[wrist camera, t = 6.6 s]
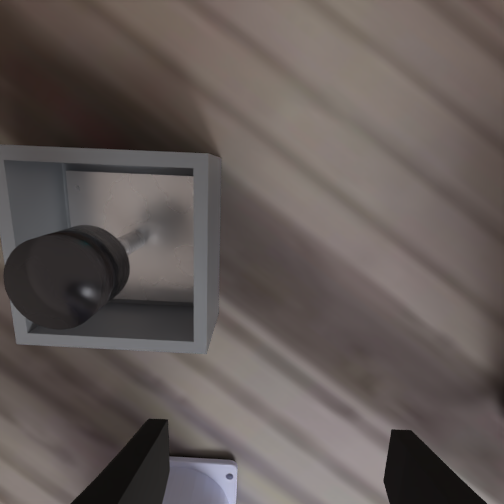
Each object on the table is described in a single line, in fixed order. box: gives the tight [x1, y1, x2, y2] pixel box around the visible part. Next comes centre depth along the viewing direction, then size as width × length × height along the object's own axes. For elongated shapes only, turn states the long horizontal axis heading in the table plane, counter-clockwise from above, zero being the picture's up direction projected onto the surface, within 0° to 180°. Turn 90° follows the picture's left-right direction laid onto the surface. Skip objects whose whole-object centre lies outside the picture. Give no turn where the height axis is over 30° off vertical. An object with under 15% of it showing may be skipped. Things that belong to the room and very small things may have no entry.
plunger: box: [4, 171, 194, 330], centre depth 14 cm, size 7×7×8 cm
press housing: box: [0, 145, 222, 354], centre depth 16 cm, size 9×9×4 cm
